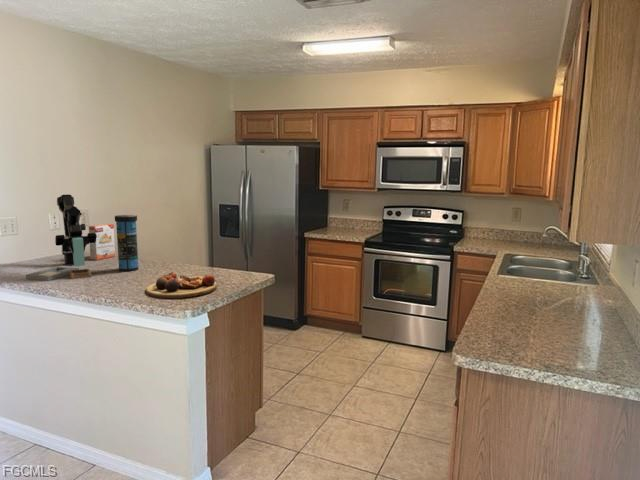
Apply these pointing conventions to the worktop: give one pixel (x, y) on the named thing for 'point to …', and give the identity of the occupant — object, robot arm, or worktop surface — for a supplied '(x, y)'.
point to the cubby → (80, 273)
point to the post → (78, 252)
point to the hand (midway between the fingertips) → (78, 252)
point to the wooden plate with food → (181, 286)
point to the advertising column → (127, 242)
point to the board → (50, 273)
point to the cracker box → (102, 242)
